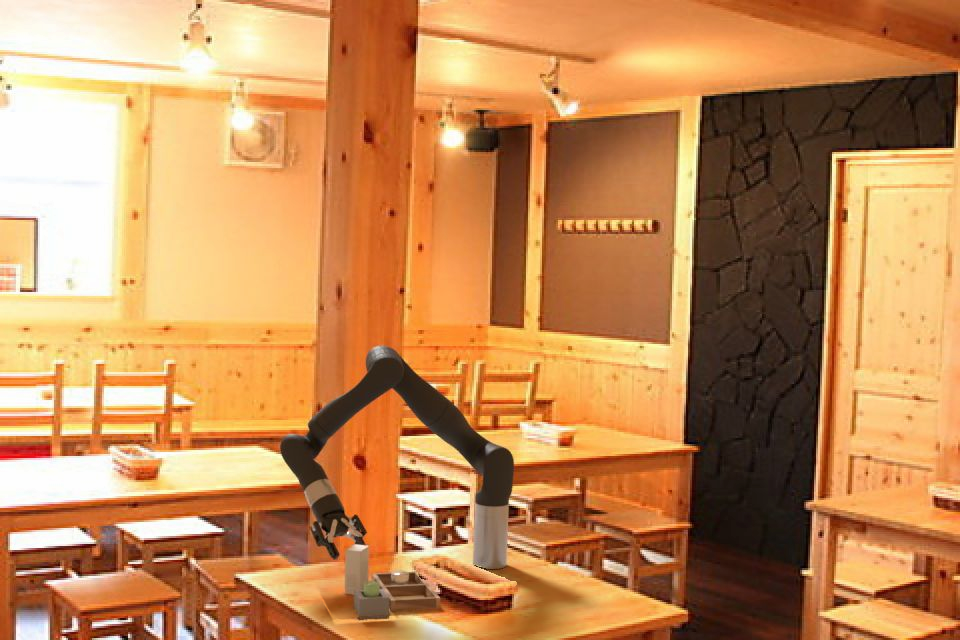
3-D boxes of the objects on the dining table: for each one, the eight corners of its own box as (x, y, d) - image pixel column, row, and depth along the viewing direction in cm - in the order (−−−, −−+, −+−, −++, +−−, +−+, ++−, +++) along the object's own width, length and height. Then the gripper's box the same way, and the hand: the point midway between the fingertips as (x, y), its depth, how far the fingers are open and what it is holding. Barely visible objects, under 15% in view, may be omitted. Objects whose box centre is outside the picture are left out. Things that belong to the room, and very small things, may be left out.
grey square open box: (353, 611, 286) (354, 590, 286) (382, 609, 288) (383, 588, 288) (359, 620, 279) (359, 599, 279) (388, 618, 281) (389, 597, 281)
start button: (362, 598, 285) (362, 581, 284) (377, 597, 286) (377, 581, 286) (365, 603, 281) (365, 586, 281) (380, 602, 282) (381, 585, 282)
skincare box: (352, 590, 302) (353, 543, 302) (368, 592, 301) (369, 545, 301) (343, 597, 297) (344, 549, 296) (359, 599, 295) (361, 551, 295)
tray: (371, 587, 306) (371, 573, 306) (417, 584, 310) (417, 571, 309) (390, 615, 284) (391, 600, 284) (439, 612, 288) (440, 598, 287)
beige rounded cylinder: (389, 586, 304) (389, 571, 303) (406, 586, 305) (406, 570, 304) (392, 591, 299) (393, 576, 299) (410, 591, 301) (410, 575, 300)
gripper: (307, 496, 301) (334, 551, 293) (352, 489, 310) (379, 542, 303) (294, 513, 305) (320, 568, 297) (339, 506, 315) (365, 558, 307)
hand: (350, 555), depth 300 cm, fingers open, 8 cm apart
